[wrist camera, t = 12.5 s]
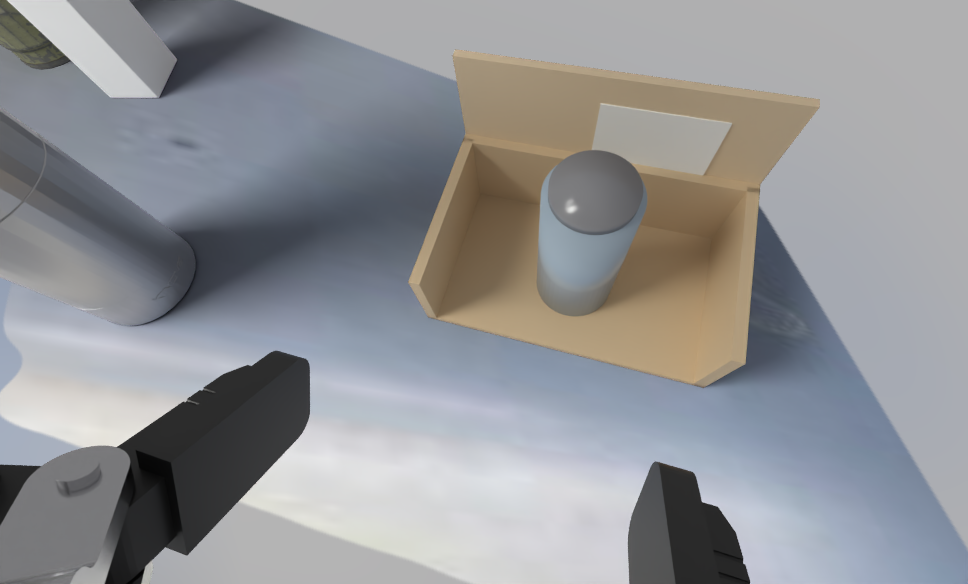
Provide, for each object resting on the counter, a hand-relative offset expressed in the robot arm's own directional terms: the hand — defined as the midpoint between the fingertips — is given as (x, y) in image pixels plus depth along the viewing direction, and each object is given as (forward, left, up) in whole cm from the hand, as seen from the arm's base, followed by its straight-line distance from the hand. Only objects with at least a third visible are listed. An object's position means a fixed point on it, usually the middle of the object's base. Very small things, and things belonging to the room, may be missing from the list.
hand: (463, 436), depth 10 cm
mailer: (+2, +16, -24) cm, 29 cm away
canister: (+1, +15, -24) cm, 28 cm away
